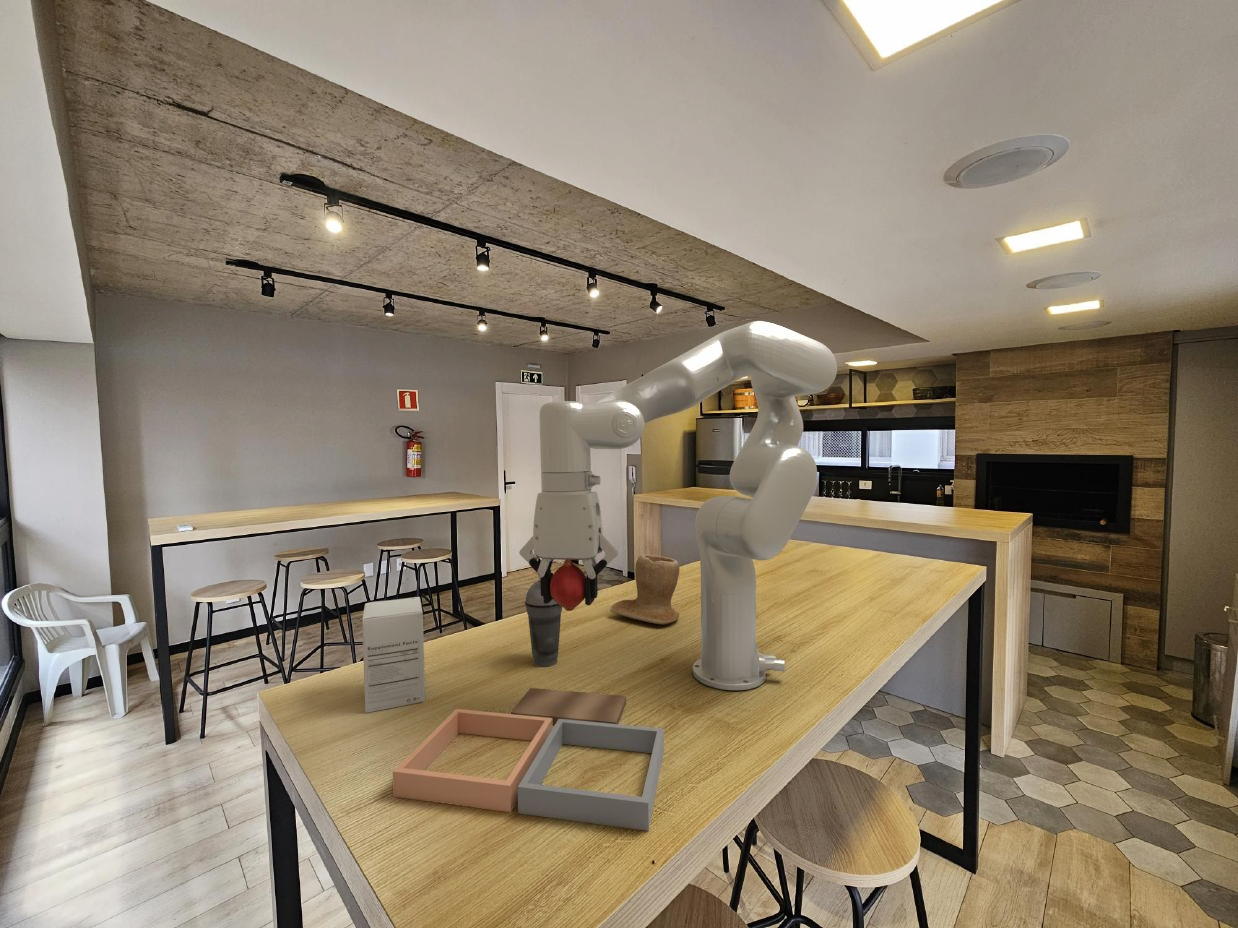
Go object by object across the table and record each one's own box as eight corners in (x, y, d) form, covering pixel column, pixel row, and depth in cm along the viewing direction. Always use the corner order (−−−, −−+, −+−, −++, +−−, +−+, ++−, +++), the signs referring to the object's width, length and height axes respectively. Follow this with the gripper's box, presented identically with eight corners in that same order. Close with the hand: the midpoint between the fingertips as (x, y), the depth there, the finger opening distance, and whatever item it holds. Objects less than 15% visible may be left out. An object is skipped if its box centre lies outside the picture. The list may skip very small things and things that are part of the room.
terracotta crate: (552, 739, 72) (552, 717, 72) (510, 812, 58) (510, 785, 57) (456, 729, 75) (455, 708, 75) (393, 796, 60) (392, 771, 60)
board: (626, 703, 82) (626, 695, 82) (615, 730, 74) (615, 722, 74) (530, 694, 85) (530, 687, 85) (510, 720, 77) (510, 712, 77)
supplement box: (366, 689, 88) (364, 602, 87) (423, 679, 91) (420, 595, 91) (363, 714, 79) (360, 618, 79) (425, 702, 83) (423, 610, 82)
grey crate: (664, 750, 69) (663, 728, 69) (648, 830, 55) (648, 802, 54) (559, 739, 72) (558, 718, 72) (518, 813, 57) (517, 786, 57)
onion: (551, 605, 82) (550, 555, 81) (587, 603, 82) (586, 553, 82) (549, 617, 76) (548, 563, 75) (588, 615, 76) (587, 562, 76)
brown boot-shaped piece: (690, 617, 122) (689, 554, 122) (662, 632, 113) (661, 564, 112) (638, 606, 132) (638, 547, 131) (608, 618, 122) (607, 555, 122)
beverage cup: (557, 671, 94) (555, 561, 93) (519, 668, 95) (517, 560, 95) (569, 655, 101) (567, 553, 100) (534, 652, 102) (532, 552, 102)
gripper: (626, 481, 80) (629, 596, 81) (522, 482, 84) (525, 592, 84) (617, 485, 73) (620, 612, 74) (502, 486, 76) (506, 607, 77)
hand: (569, 600), depth 79 cm, fingers closed on onion, 5 cm apart
